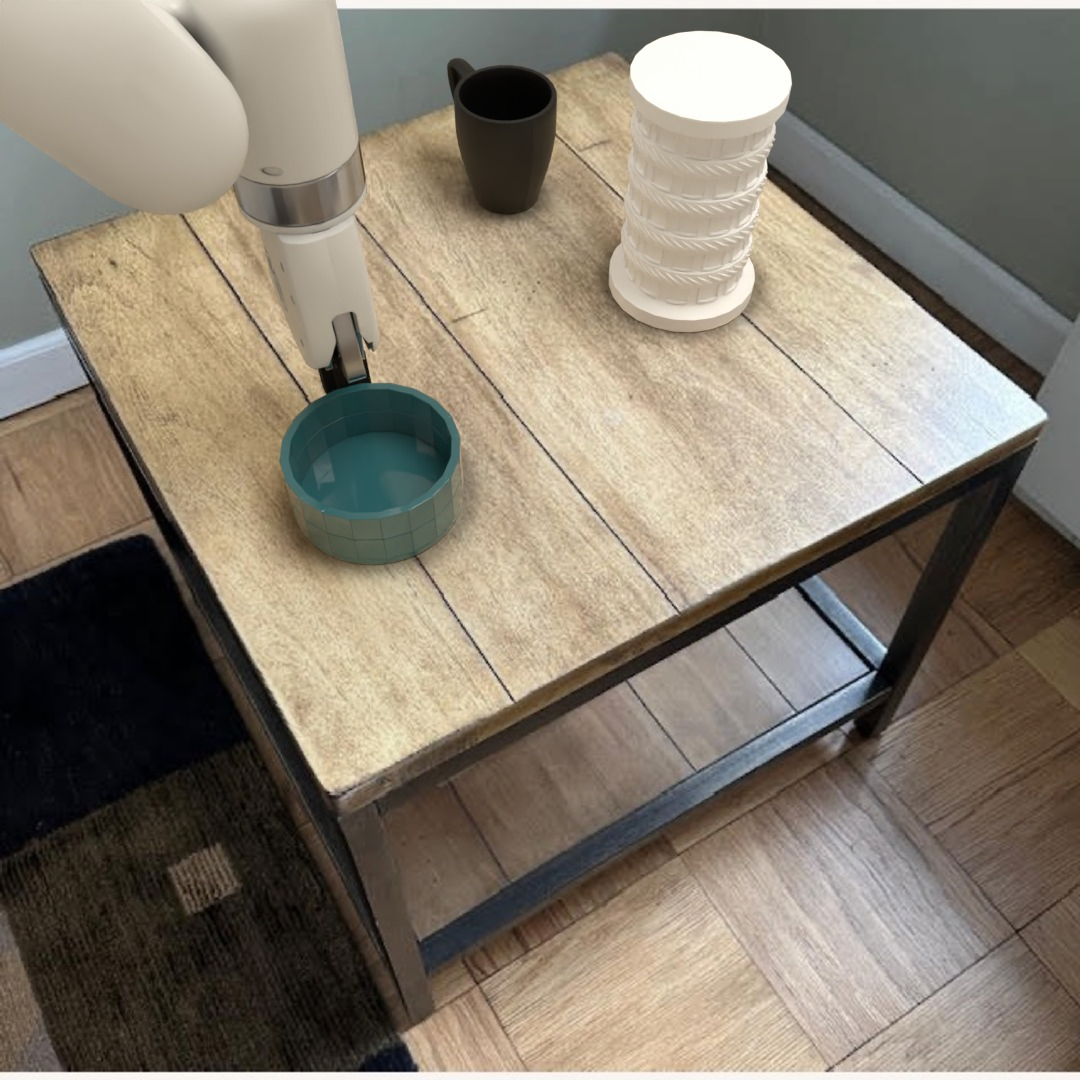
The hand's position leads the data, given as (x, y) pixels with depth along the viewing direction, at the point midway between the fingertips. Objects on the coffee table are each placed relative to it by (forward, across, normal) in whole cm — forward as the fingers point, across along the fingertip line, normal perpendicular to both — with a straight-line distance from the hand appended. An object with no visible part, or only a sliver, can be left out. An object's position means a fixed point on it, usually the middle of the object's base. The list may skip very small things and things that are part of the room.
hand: (348, 390), depth 77 cm
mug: (+3, -21, +20) cm, 29 cm away
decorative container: (+3, -4, +28) cm, 29 cm away
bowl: (+2, +8, -1) cm, 8 cm away
